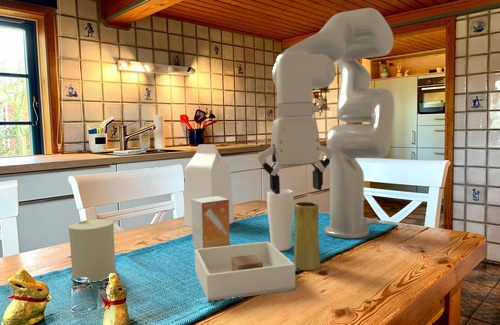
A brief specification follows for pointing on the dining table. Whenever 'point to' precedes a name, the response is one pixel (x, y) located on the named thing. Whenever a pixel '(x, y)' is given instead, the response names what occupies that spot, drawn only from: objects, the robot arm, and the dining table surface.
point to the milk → (206, 180)
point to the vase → (306, 236)
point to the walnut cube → (246, 262)
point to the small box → (210, 222)
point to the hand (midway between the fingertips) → (296, 190)
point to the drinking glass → (280, 218)
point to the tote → (243, 271)
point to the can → (92, 249)
